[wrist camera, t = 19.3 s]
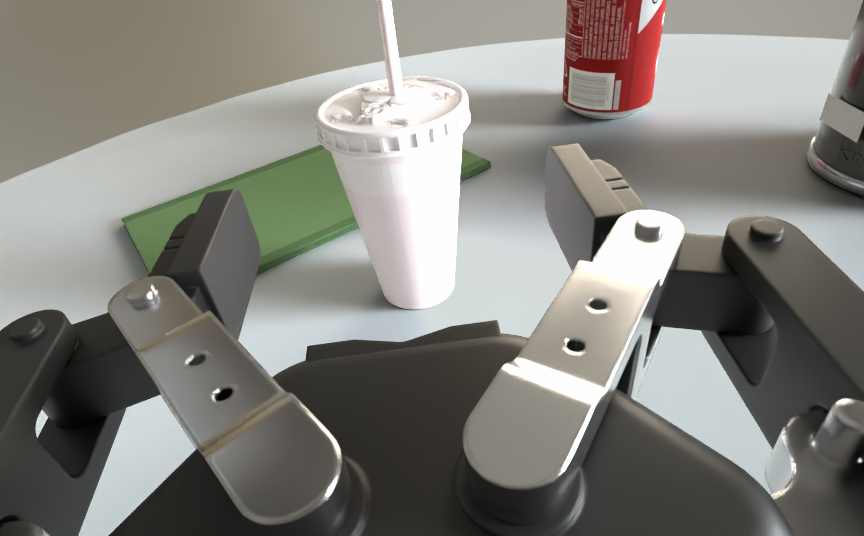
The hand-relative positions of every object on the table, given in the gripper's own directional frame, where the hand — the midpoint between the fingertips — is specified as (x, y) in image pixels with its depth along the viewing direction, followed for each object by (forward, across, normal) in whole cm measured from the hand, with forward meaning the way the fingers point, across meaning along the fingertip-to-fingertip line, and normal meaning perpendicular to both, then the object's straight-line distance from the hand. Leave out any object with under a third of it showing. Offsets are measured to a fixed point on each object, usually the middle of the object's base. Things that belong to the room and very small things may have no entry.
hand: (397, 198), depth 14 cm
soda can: (+28, -16, +11) cm, 35 cm away
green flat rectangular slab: (+20, +7, +10) cm, 24 cm away
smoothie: (+9, 0, +10) cm, 14 cm away
